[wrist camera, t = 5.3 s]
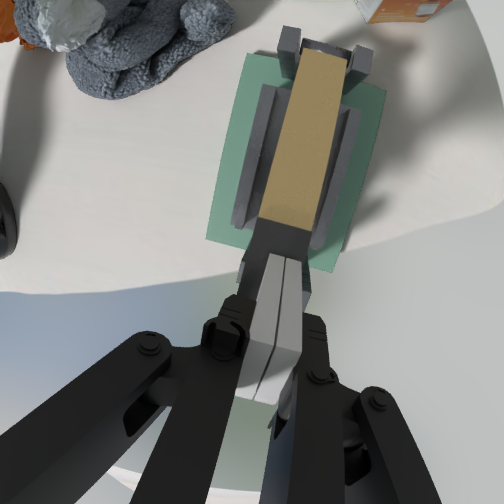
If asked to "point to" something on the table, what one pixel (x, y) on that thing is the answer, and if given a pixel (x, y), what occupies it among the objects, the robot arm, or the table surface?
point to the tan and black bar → (298, 163)
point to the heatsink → (266, 141)
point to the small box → (399, 10)
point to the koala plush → (122, 38)
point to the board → (235, 148)
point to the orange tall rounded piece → (10, 24)
